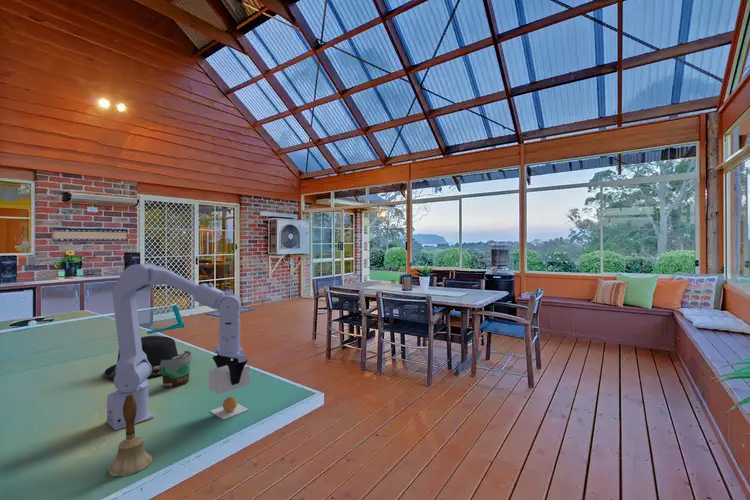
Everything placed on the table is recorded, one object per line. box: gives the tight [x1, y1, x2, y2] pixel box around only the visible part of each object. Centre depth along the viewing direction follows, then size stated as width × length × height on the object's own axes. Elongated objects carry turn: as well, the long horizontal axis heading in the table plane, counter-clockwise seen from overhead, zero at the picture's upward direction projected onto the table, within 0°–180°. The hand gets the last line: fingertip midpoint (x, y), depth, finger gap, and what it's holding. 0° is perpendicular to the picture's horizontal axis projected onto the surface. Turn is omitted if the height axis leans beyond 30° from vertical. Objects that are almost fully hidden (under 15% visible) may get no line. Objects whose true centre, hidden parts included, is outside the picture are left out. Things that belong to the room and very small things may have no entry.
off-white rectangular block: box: [208, 364, 250, 395], centre depth 107 cm, size 10×6×6 cm, turn 141°
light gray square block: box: [209, 402, 250, 421], centre depth 108 cm, size 8×8×1 cm
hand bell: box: [107, 394, 153, 477], centre depth 81 cm, size 8×8×16 cm
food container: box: [160, 350, 194, 389], centre depth 128 cm, size 12×6×10 cm, turn 168°
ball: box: [222, 396, 238, 412], centre depth 107 cm, size 4×4×4 cm
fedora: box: [104, 335, 180, 380], centre depth 143 cm, size 25×27×12 cm
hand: (229, 381), depth 108 cm, fingers closed on off-white rectangular block, 6 cm apart
